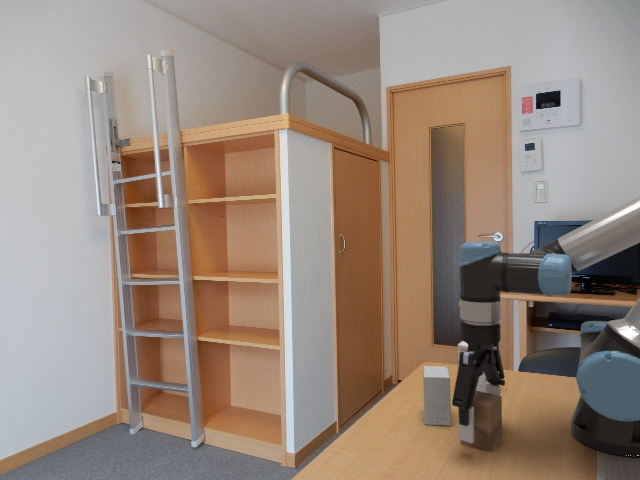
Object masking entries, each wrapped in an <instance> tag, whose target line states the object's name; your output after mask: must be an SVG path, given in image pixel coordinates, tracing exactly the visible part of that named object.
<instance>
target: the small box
mask: <svg viewBox="0 0 640 480" xmlns="http://www.w3.org/2000/svg"><path fill="white" fill-rule="evenodd" d="M422 381H423V382H422V383H423V385H422V386H423V414H424V424H425V425H430V426H431V425H432V426H449V427H450V426H451V425H452V414H451V413H452V409H451V407H452V402H451V399H452V398H451V375H450V373H449V369H448V366H438V365H437V366H434V365H433V366H432V365H430V366H429V365H424V366H423V365H422Z"/></svg>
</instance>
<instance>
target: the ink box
mask: <svg viewBox="0 0 640 480" xmlns="http://www.w3.org/2000/svg"><path fill="white" fill-rule="evenodd" d="M467 349H468V344H467V343H466V342H464V341H462V340H461V342H459V343H457V369H458V368H459V357H460V352H466V353H467ZM486 384H490V383H488V381H487V378H486V376H485V374H484V372H483V375H481V376H480V377H479V380H478V384H477V387H476V391H481V392H485V393H486Z"/></svg>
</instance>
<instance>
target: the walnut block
mask: <svg viewBox="0 0 640 480" xmlns="http://www.w3.org/2000/svg"><path fill="white" fill-rule="evenodd" d="M502 399H503V397H502V395H500V396H499V395H494V394H490V393H485V392H481V391H475V395H474V399H473V402H472V406H471V407H474V442H473V443H469V442H466V441H463V440H460V439H459V441H460V442H459V443H460V444H461V445H464V446H467V447H470V448H474V449H478V450H480V451H483V452H487V453H492V452H493V451H494V450H496V448H497V447H498V446H499V444H500V443H501V442H502V441H503V415H502V413H503V406H502V405H503V404H502V403H503V402H502V401H503V400H502Z"/></svg>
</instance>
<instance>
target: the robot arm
mask: <svg viewBox="0 0 640 480" xmlns="http://www.w3.org/2000/svg"><path fill="white" fill-rule="evenodd" d="M637 244H640V196H638V197H636V198H633V199H631V200H630V201H628V202H626V203H624V204H622V205H620V206H618V207H617V208H614V209H613V210H611V211H608V212H606V213H604V214H602V215H601V216H599V217H596V218H595V219H593V220H591V221H590V222H587V223H585V224H584V225H582V226H579V227H577V228H575V229H574V230H571V231H570V232H567V233H566V234H564V235H562V236H560V237H558V238H557V239H554V240H552V241H550V242H548V243H546V244H544V245H543V246H541V247H537V248H535V249H534V250H531V251H530V252H529V253H528V252H527V253H524V252H523V253H519V252H517V253H514V252H512V253H510V252H504V251H502V249H501V244H499V242H496V241H468V242H464V243H463V244H461V246H460V248H459V249H460V251H459V252H460V253H459V265H458V269H459V302H458V303H457V305H458V307H459V311H460V312H459V318H460V319H461V321H460V322H459V339H460V340H461V342H462V341H464V342H466V343H467V344H468V349H467V353H466V352H460V357H459V368H458V367H457V373H456V380H455V384H454V385H455V386H454V389H453V396H452V402H451V406H453V407H457V411H458V412H457V423H458V424H457V425H458V426H457V427H458V428H457V429H458V430H457V434H458V435H457V436H458V440H459V441H460V440H463V441H466V442H469V443H473V442H474V407H471V406H472V402H473V399H474V395H475V391H476V387H477V384H478V380H479V377H480V376H481V375H483V372H484V374H485V376H486V378H487V381H488V383H490V384H486V393H490V394H494V395H499V396H501V386H503V387H504V386H505V385H506V380H504V379H505V373H504V372H505V371H504V368H503V362H502V357H501V354H500V352H501V351H500V342H501V339H502V338H501V335H502V334H501V328H502V327H501V324H500V321H501V318H502V316H501V314H502V312H501V311H502V307H501V306H502V304H501V302H502V301H501V293H507V294H508V293H511V294H524V295H525V294H526V295H527V294H528V295H537V296H546V297H552V296H561V297H562V296H568V295H569V294H570V293H571V291H572V275H573V274H575V273H577V272H580V271H581V270H584V269H586V268H588V267H590V266H592V265H594V264H597V263H599V262H601V261H603V260H606V259H607V258H610V257H612V256H614V255H616V254H618V253H620V252H623V251H624V250H626V249H628V248H631V247H633V246H635V245H637ZM579 337H580V355H579V361H578V366H577V370H576V373H575V381H576V385H577V387H578V390H579V391H578V392H579V393H580V396H579V398H578V401H577V404H576V406H575V409H574V412H573V414H572V417H571V420H570V426H571V427H570V432H571V434H572V437H574V438H575V439H576V440H577V441H578V442H581V443H582V444H583V445H585V446H587V447H590V448H592V449H595V450H597V451H601V452H604V453H607V454H612V455H615V454H616V456H621V455H627V456H626V457H629V456H630V455H631V456H637V455H639V456H640V297H639V298H637V301H635V303H634V305H633V306H632V307H631V308H630V310H629V311H628V312H627V314H626V315H625V316H624V317H623V318H620V319H614V320H609V321H605V320H603V321H602V320H590V321H589V320H588V321H584V322H583V323H581V326H580V332H579ZM628 455H629V456H628Z"/></svg>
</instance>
